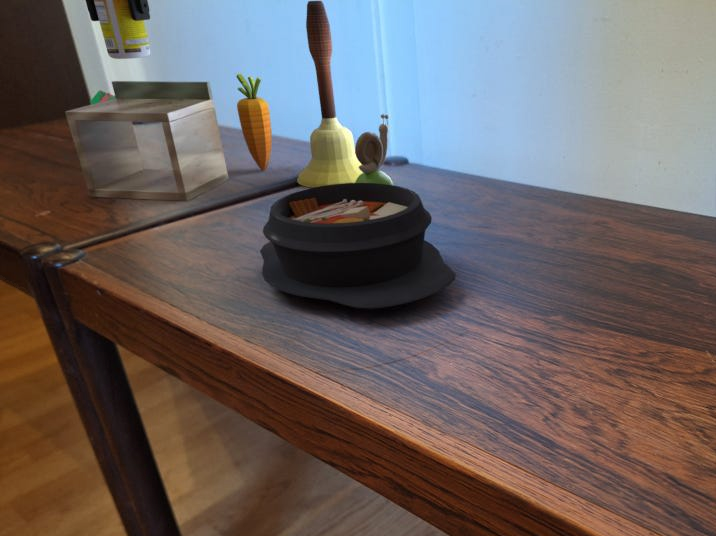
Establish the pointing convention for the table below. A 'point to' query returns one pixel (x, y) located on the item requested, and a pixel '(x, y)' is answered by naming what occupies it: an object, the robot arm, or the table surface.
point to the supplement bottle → (122, 30)
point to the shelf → (120, 149)
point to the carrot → (255, 122)
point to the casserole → (353, 246)
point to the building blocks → (102, 97)
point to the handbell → (327, 114)
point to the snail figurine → (373, 155)
